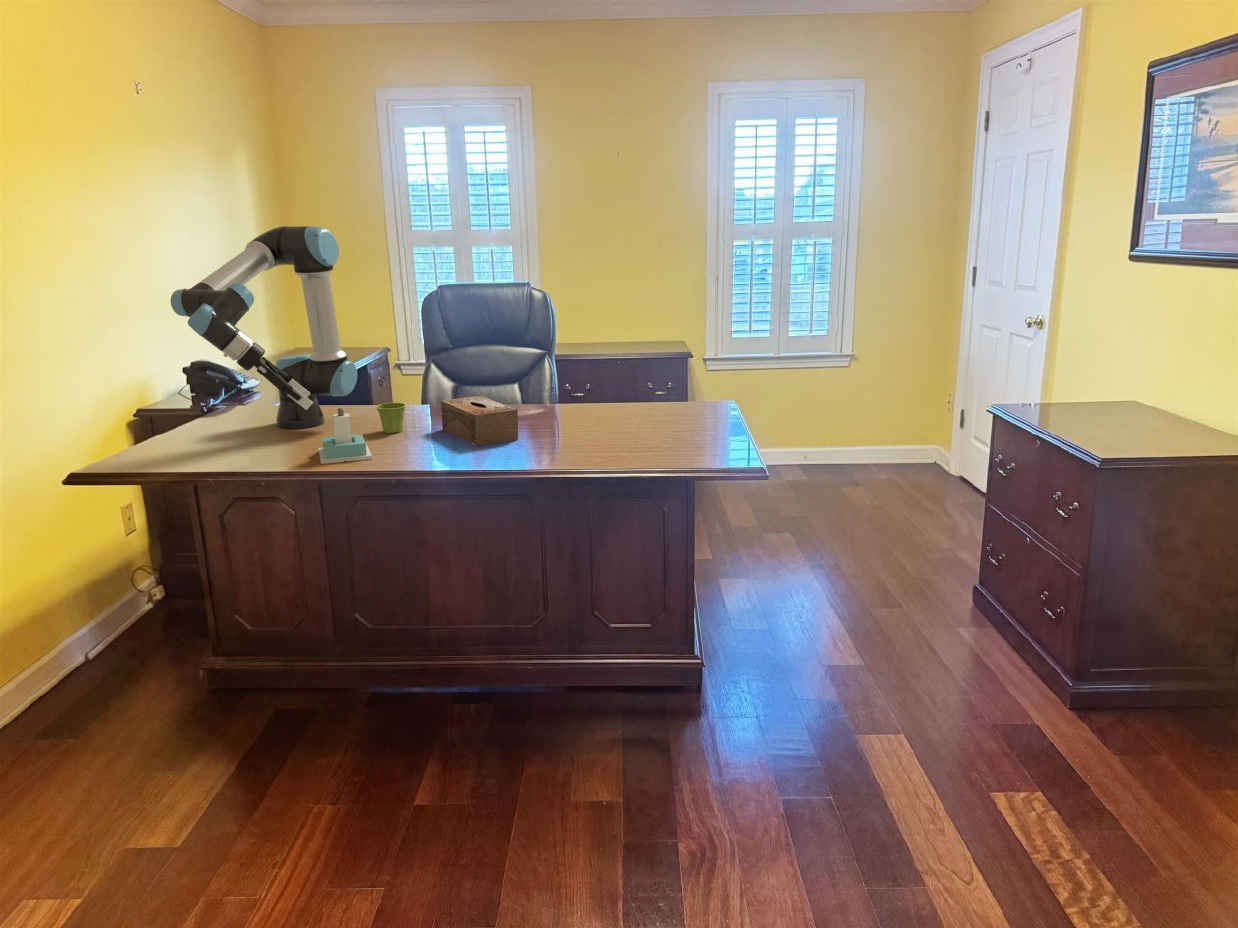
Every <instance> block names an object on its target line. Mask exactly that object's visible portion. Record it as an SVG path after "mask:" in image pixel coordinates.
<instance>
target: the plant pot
mask: <svg viewBox="0 0 1238 928" xmlns="http://www.w3.org/2000/svg"><path fill="white" fill-rule="evenodd" d="M406 406H407V404H406V403H403V402H384V403H380V404H379V403H378V405H376V407H375V408H376V409H377V412H378V415H379V419H380V422H381V426H382V431H383V432H384V433H386V434H394V433H401V432H402V431H404V429H403V428H404V415H405V414H404V413H405V409H406Z"/></svg>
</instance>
